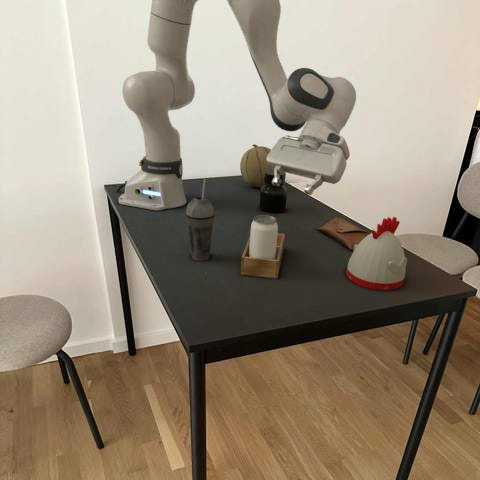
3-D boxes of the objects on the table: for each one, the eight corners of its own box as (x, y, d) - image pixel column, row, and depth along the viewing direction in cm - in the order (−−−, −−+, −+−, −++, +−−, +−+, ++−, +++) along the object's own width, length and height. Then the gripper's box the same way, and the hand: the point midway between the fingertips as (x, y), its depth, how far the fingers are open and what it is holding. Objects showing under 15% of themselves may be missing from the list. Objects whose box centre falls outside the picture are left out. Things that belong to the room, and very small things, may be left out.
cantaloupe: (274, 194, 166) (277, 151, 158) (235, 189, 169) (236, 147, 161) (280, 183, 178) (284, 143, 170) (244, 179, 181) (245, 139, 173)
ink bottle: (285, 205, 156) (288, 169, 150) (288, 213, 149) (292, 176, 143) (256, 204, 156) (259, 168, 150) (258, 213, 149) (261, 175, 142)
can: (272, 272, 111) (276, 225, 104) (246, 269, 112) (248, 222, 105) (276, 261, 116) (280, 216, 110) (251, 258, 117) (253, 213, 111)
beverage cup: (182, 253, 120) (180, 176, 109) (208, 249, 122) (209, 174, 112) (191, 264, 114) (190, 184, 104) (218, 261, 117) (220, 182, 106)
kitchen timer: (415, 281, 112) (431, 223, 104) (376, 295, 105) (390, 233, 97) (373, 260, 121) (385, 204, 113) (334, 271, 115) (344, 213, 107)
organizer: (240, 274, 111) (241, 257, 108) (250, 246, 126) (251, 230, 123) (277, 278, 110) (279, 261, 107) (283, 249, 124) (285, 234, 122)
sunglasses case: (314, 228, 138) (326, 208, 136) (328, 236, 142) (340, 217, 141) (352, 251, 125) (366, 229, 123) (367, 259, 129) (380, 238, 127)
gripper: (277, 126, 116) (252, 172, 114) (350, 139, 105) (323, 190, 104) (285, 142, 121) (261, 186, 120) (356, 156, 111) (330, 205, 109)
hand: (290, 188), depth 112 cm, fingers open, 8 cm apart
